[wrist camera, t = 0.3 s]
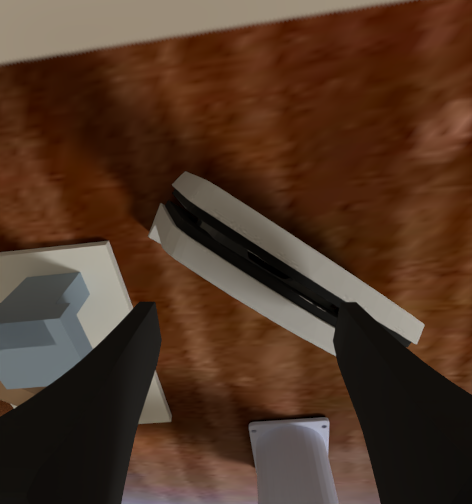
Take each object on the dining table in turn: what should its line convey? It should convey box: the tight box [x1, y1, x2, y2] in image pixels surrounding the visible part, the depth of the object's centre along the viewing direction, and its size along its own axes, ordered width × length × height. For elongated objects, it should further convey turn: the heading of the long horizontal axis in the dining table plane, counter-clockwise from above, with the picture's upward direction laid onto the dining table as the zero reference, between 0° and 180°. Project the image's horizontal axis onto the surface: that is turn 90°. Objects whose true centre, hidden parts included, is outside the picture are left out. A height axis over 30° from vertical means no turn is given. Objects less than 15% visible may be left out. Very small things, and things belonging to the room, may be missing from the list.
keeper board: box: [0, 241, 172, 424], centre depth 25 cm, size 20×14×6 cm
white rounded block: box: [148, 171, 424, 356], centre depth 19 cm, size 17×5×10 cm, turn 55°
